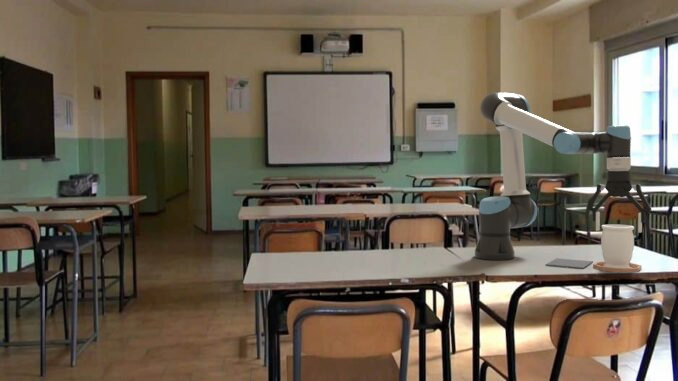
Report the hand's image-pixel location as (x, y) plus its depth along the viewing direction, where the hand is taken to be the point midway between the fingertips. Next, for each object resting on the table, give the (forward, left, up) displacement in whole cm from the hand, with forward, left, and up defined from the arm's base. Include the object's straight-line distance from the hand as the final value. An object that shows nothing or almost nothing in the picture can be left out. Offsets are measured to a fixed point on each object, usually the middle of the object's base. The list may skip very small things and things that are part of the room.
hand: (618, 231), depth 215 cm
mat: (-16, 0, -13) cm, 21 cm away
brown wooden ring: (0, 0, -13) cm, 13 cm away
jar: (0, 0, -13) cm, 13 cm away
